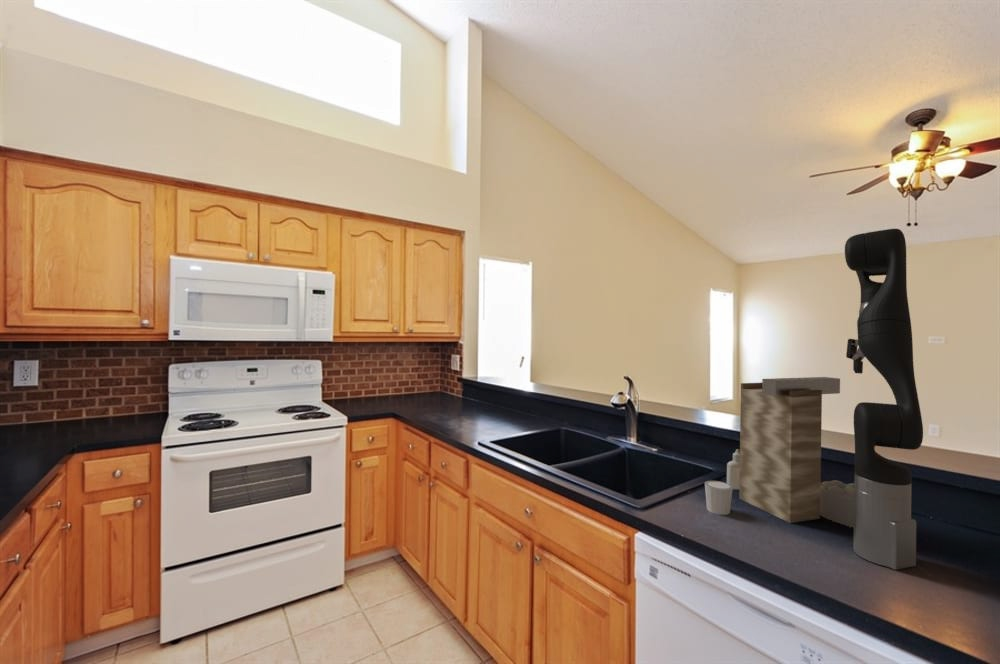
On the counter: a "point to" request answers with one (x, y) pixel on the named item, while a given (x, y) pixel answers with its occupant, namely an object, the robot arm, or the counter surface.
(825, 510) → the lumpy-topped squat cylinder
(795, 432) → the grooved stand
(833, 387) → the metal bar
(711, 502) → the white tapered cup
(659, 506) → the counter surface
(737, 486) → the eye dropper bottle
